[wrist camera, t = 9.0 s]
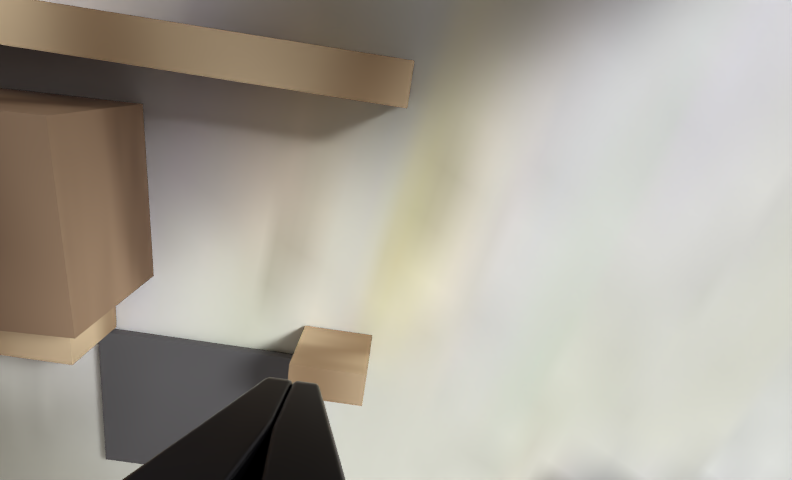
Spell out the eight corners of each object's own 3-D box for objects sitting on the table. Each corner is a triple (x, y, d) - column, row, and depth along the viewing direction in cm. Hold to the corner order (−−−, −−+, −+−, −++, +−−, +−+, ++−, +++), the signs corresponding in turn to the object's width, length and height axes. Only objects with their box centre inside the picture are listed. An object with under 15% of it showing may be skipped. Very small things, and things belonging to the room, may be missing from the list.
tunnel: (413, 62, 15) (414, 60, 12) (367, 363, 18) (360, 416, 15) (-104, -20, 14) (-231, -43, 12) (-49, 303, 18) (-135, 346, 15)
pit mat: (315, 357, 18) (313, 362, 18) (301, 479, 20) (300, 485, 20) (103, 327, 18) (98, 331, 18) (110, 453, 20) (106, 459, 20)
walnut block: (145, 103, 16) (45, 115, 11) (155, 273, 18) (74, 338, 13) (-43, 82, 15) (-213, 86, 11) (-11, 256, 17) (-145, 315, 13)
